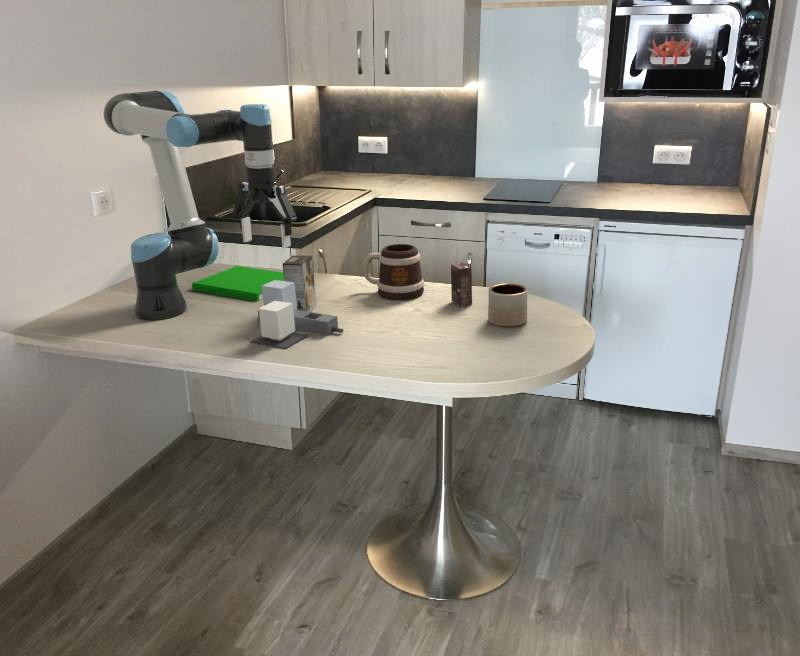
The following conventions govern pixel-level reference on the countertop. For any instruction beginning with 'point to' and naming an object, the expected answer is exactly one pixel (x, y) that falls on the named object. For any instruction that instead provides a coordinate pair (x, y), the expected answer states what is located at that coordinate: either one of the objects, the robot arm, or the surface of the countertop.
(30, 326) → the countertop surface
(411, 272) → the mug
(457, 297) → the box
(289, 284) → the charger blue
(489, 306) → the planter
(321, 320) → the power strip
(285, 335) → the block
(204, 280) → the book
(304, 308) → the coffee box
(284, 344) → the mat
